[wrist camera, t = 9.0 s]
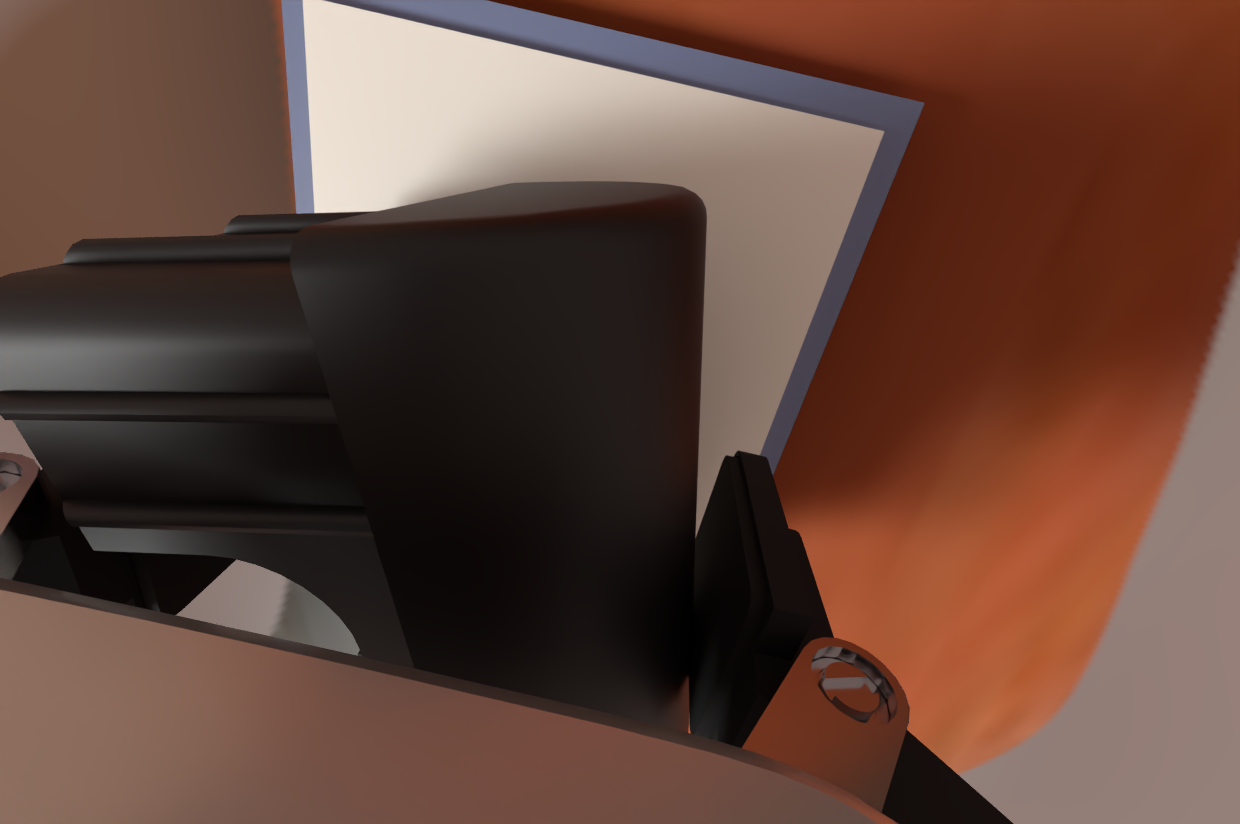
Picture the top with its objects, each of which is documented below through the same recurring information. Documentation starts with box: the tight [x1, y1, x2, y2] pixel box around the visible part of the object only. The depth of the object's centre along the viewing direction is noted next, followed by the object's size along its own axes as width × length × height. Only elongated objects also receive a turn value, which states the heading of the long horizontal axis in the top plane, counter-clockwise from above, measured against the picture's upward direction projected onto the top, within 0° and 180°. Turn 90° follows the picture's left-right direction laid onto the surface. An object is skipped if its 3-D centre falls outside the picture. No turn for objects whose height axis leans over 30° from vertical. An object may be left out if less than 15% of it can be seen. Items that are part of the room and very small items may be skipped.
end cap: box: [0, 181, 707, 733], centre depth 9 cm, size 10×7×7 cm
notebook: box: [282, 0, 925, 535], centre depth 13 cm, size 16×12×1 cm
